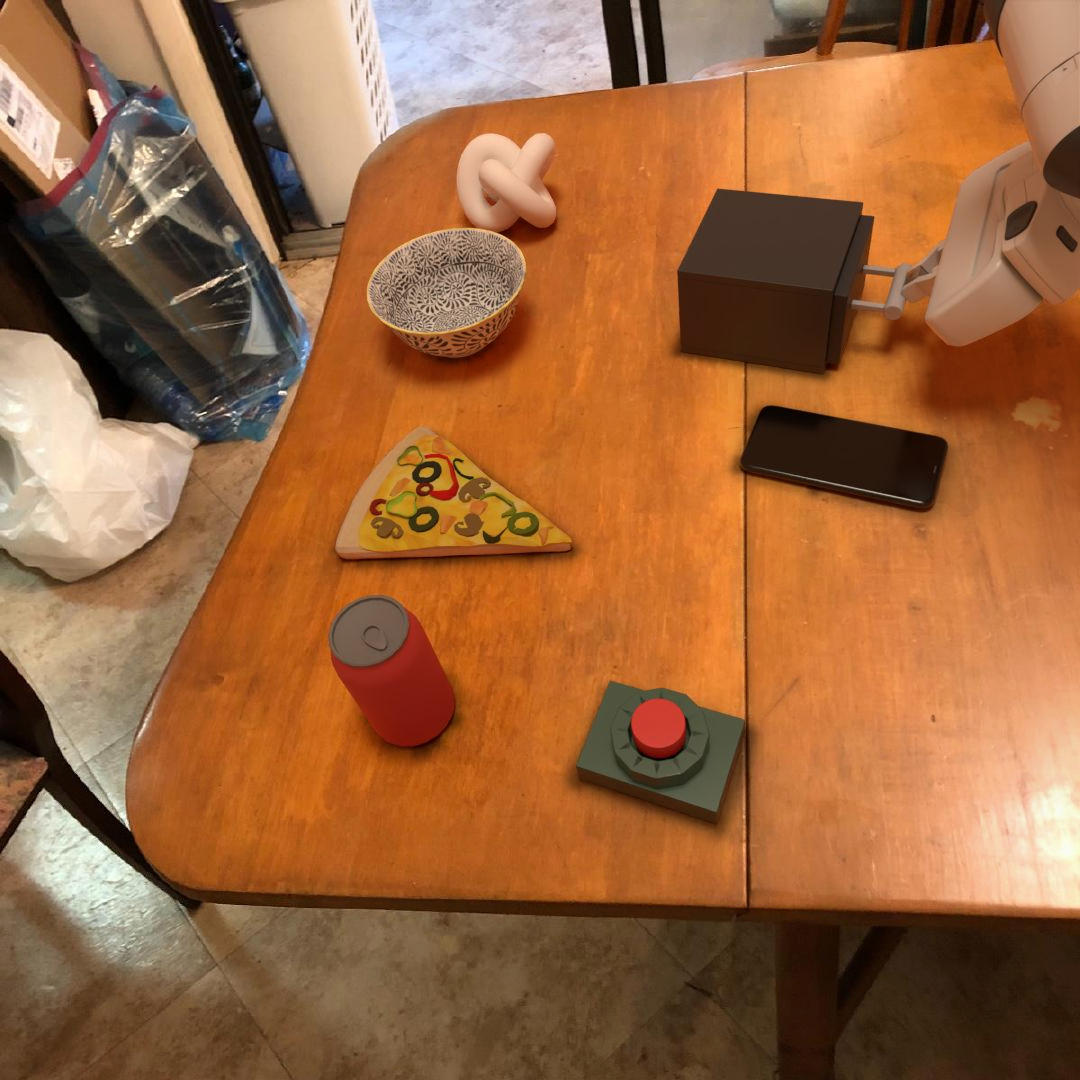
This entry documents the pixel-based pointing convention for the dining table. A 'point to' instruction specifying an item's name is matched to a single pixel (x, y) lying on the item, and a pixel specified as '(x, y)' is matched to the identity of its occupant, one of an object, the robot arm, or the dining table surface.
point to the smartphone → (846, 455)
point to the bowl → (449, 290)
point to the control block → (671, 782)
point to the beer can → (391, 670)
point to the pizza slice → (439, 508)
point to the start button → (658, 728)
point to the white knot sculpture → (506, 181)
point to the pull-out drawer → (852, 287)
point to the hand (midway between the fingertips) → (908, 287)
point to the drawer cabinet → (765, 278)
